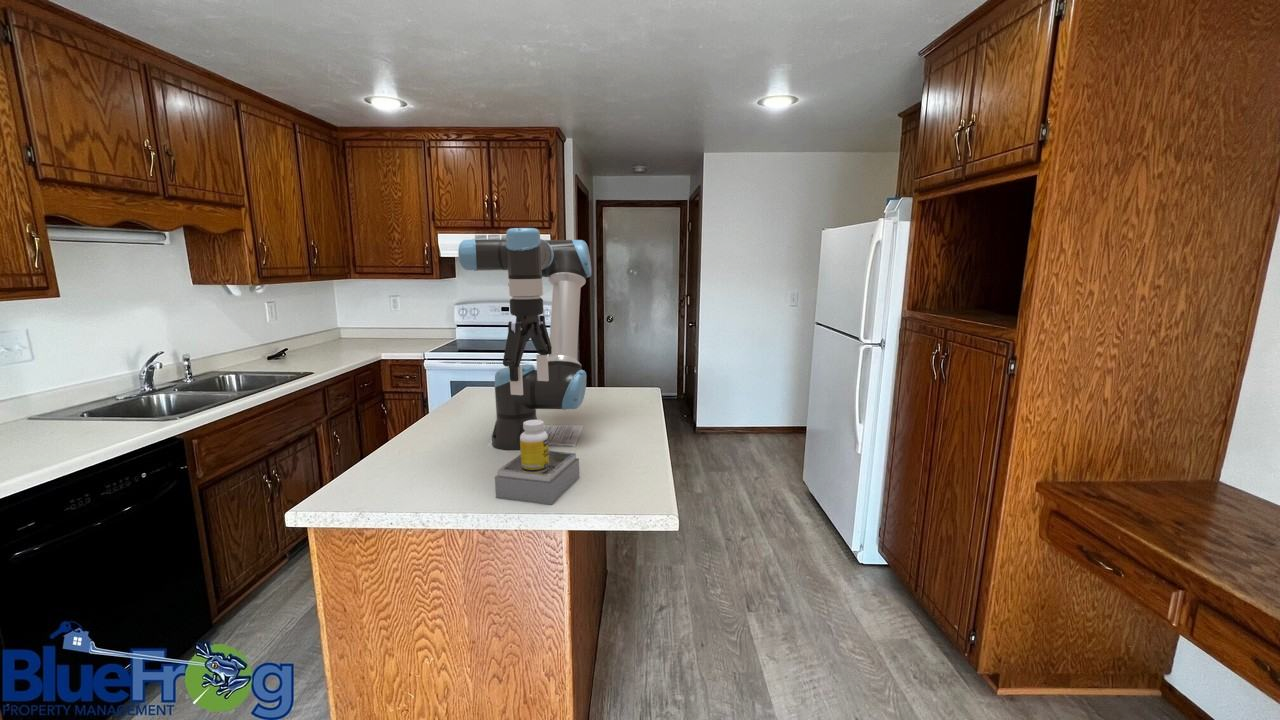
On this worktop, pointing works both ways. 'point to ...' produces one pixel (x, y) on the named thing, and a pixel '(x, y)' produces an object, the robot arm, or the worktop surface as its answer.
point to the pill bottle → (534, 447)
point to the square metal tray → (538, 479)
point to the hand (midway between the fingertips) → (530, 387)
